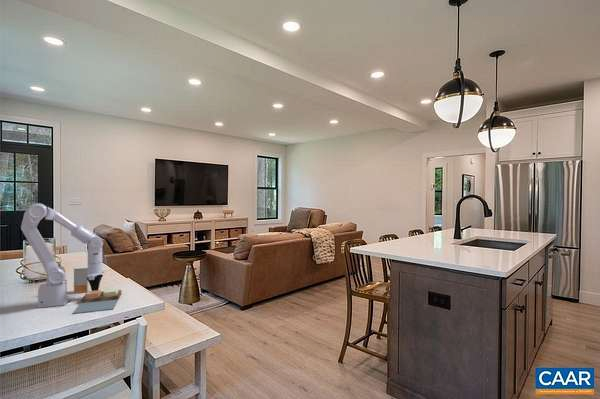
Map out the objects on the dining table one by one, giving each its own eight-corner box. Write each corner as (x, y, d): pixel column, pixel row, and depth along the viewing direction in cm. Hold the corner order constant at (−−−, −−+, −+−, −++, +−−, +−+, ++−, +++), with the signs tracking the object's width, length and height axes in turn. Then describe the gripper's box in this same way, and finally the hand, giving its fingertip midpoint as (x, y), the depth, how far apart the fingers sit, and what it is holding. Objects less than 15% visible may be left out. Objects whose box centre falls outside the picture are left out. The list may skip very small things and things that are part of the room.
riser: (81, 303, 135) (81, 299, 135) (86, 297, 143) (86, 292, 143) (118, 300, 140) (118, 295, 140) (121, 293, 148) (121, 289, 148)
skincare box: (73, 293, 148) (73, 268, 148) (77, 290, 152) (77, 266, 152) (87, 292, 150) (87, 267, 149) (91, 289, 154) (91, 265, 154)
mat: (72, 314, 124) (72, 313, 124) (81, 304, 135) (81, 303, 135) (113, 309, 129) (113, 308, 129) (118, 300, 140) (118, 299, 140)
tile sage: (103, 296, 139) (103, 292, 139) (105, 292, 144) (105, 289, 144) (116, 294, 141) (116, 291, 141) (118, 291, 146) (118, 288, 146)
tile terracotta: (84, 297, 137) (84, 294, 137) (87, 294, 141) (87, 291, 141) (98, 296, 138) (98, 293, 138) (100, 293, 143) (100, 289, 143)
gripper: (101, 265, 138) (101, 295, 138) (108, 258, 151) (108, 286, 152) (82, 266, 135) (82, 297, 136) (91, 259, 149) (91, 287, 149)
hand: (95, 291), depth 143 cm, fingers closed
